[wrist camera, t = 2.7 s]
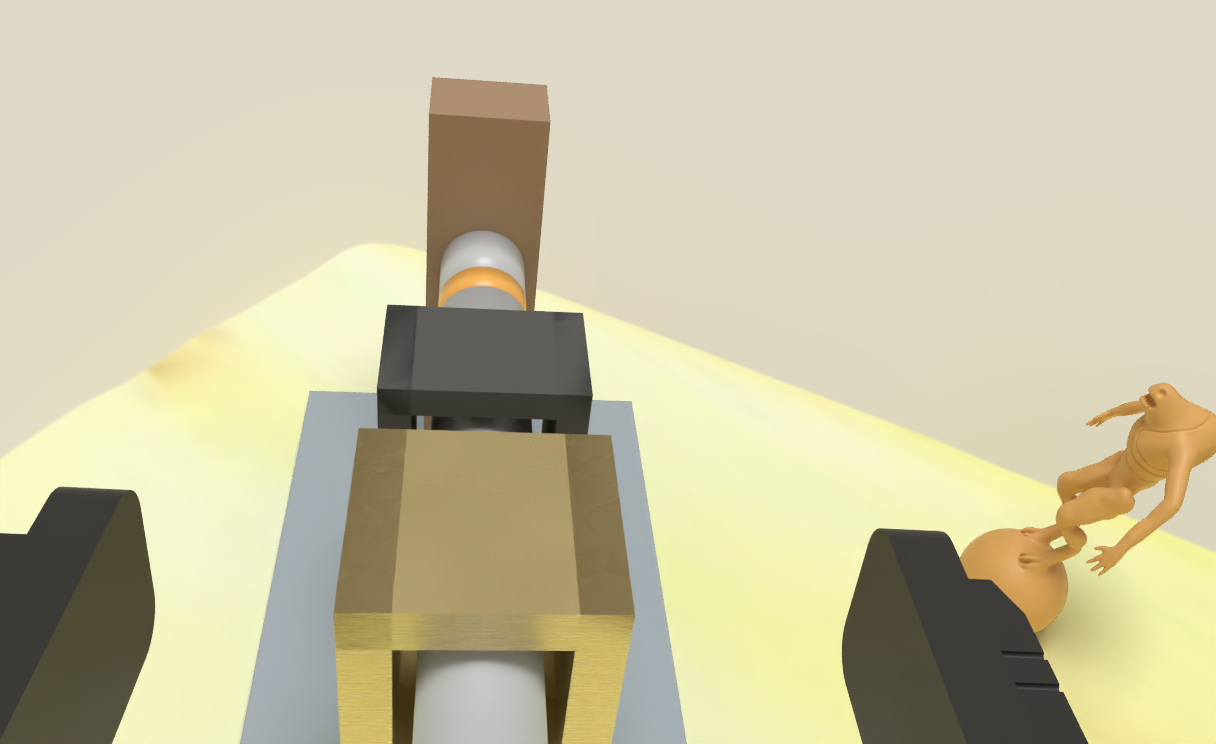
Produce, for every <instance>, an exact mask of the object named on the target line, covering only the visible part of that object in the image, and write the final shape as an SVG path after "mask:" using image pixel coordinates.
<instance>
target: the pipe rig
mask: <svg viewBox="0 0 1216 744" xmlns="http://www.w3.org/2000/svg"><path fill="white" fill-rule="evenodd" d="M549 131H550V114H549V105H548V96H547V86H546V85H535V84H521V83H507V82H492V81H479V80H464V79H450V78H435V77H433V78H432V88H431V99H430V111H429V151H428V152H429V153H428V154H429V155H428V213H427V273H426V306H429V307H452V308H476V309H499V310H522V311H534V307H535V295H536V283H537V270H538V259H539V248H540V236H541V225H542V213H543V201H544V190H545V177H546V166H547V154H548V142H549ZM542 421H543V420H540V419H507V418H473V417H440V416H417V430H447V431H482V432H517V433H541V431H542ZM359 428H377V429H378V419H377V393H356V392H325V391H310V393H309V398H308V403H307V408H306V413H305V418H304V423H303V428H302V433H301V438H300V443H299V448H298V453H297V458H296V463H295V468H294V473H293V479H292V484H291V489H290V494H289V499H288V504H287V509H286V514H285V519H284V524H283V529H282V534H281V539H280V544H279V549H278V554H277V559H276V564H275V570H274V575H273V580H272V585H271V590H270V595H269V600H268V605H267V610H266V615H265V620H264V625H263V630H262V635H261V640H260V645H259V650H258V655H257V660H256V666H255V671H254V676H253V681H252V686H251V691H250V696H249V701H248V706H247V711H246V716H245V721H244V726H243V731H242V736H241V741H240V744H340V731H339V712H338V693H337V674H336V655H335V636H334V617H333V611H334V604H335V597H336V590H337V582H338V575H339V568H340V560H341V553H342V546H343V539H344V531H345V524H346V517H347V509H348V502H349V495H350V488H351V480H352V473H353V466H354V458H355V451H356V444H357V437H358V429H359ZM588 435H611V438H612V446H613V453H614V460H615V468H616V475H617V483H618V490H619V498H620V505H621V513H622V520H623V528H624V535H625V543H626V550H627V558H628V565H629V573H630V580H631V588H632V595H633V602H634V610H635V619H634V624H633V630H632V635H631V640H630V646H629V651H628V657H627V662H626V667H625V673H624V678H623V684H622V689H621V694H620V700H619V705H618V711H617V716H616V721H615V727H614V732H613V738H612V743H611V744H687V743H686V736H685V730H684V724H683V718H682V712H681V706H680V699H679V693H678V687H677V681H676V675H675V668H674V662H673V656H672V650H671V644H670V637H669V631H668V625H667V619H666V613H665V606H664V600H663V594H662V588H661V582H660V575H659V569H658V563H657V557H656V551H655V544H654V538H653V532H652V526H651V520H650V513H649V507H648V501H647V495H646V489H645V482H644V476H643V470H642V464H641V458H640V451H639V445H638V439H637V433H636V427H635V420H634V414H633V408H632V402H631V401H600V400H592V405H591V413H590V420H589V428H588ZM412 744H548V737H547V716H546V696H545V676H544V656H543V651H467V650H418V655H417V672H416V689H415V706H414V723H413V740H412Z"/></svg>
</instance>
